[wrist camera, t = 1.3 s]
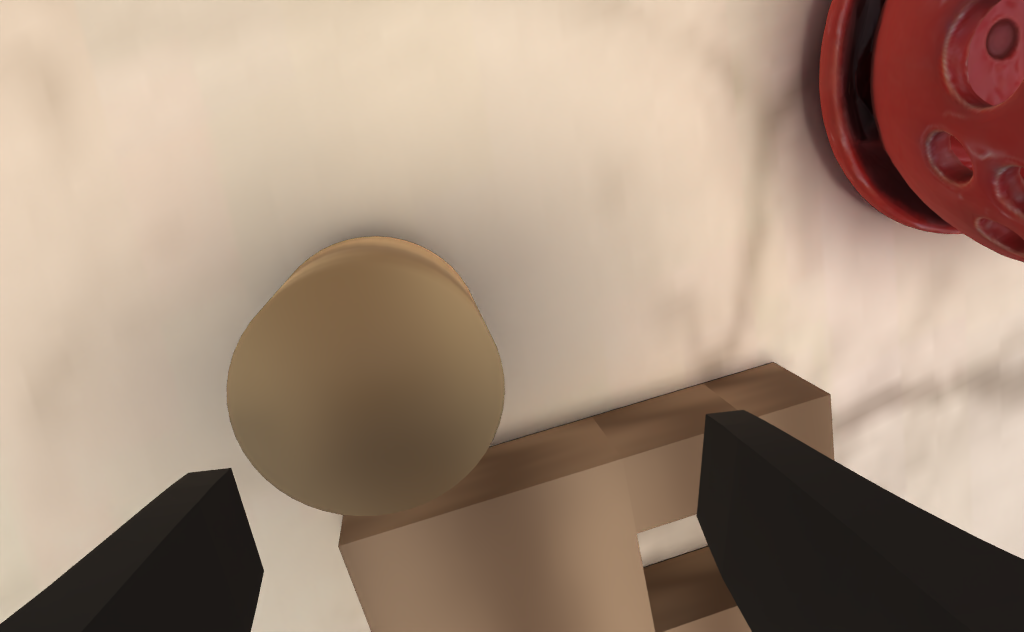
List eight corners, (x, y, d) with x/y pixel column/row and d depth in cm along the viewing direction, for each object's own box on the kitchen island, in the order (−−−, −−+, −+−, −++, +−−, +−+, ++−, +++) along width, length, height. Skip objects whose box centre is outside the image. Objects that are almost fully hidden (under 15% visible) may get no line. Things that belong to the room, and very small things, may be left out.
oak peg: (327, 397, 19) (283, 547, 12) (271, 243, 17) (181, 308, 10) (482, 354, 19) (529, 472, 12) (442, 201, 18) (469, 234, 11)
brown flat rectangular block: (425, 701, 23) (428, 779, 20) (347, 489, 20) (338, 546, 17) (792, 575, 25) (844, 630, 22) (773, 362, 21) (830, 394, 19)
